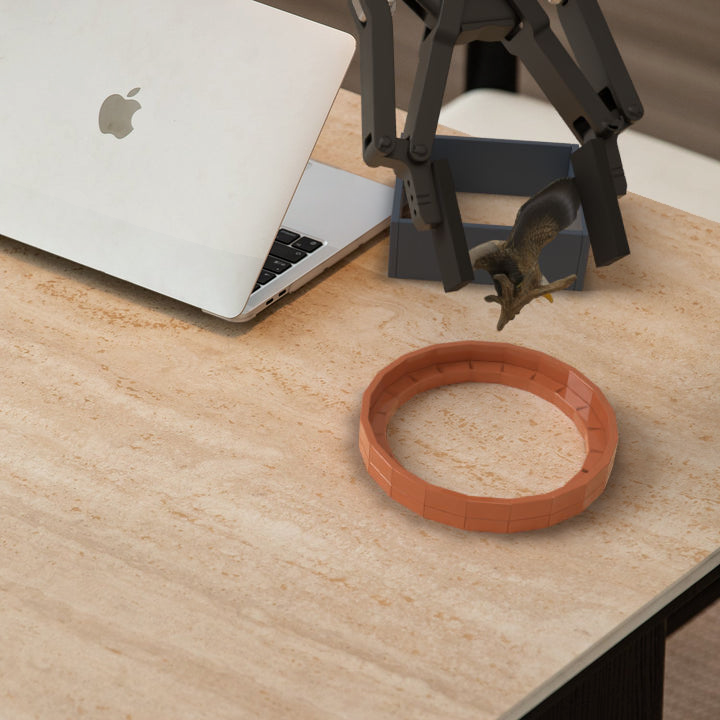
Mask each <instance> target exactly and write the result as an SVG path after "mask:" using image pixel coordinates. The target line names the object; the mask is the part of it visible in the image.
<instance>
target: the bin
mask: <svg viewBox="0 0 720 720" xmlns="http://www.w3.org/2000/svg"><path fill="white" fill-rule="evenodd" d="M402 136H403V132H400V137H399V138H402ZM578 148H580V143H570V142H555V141H542V140H541V141H539V140H525V139H509V138H495V137H477V136H464V135H449V134H448V135H447V134H436V135H435V139H434V144H433V149H432V154H431V156H430V160H431V163H432V162H433V161H434V160H441V159H448V162H449V166H450V171H451V175H452V180H453V184H454V188H455V193H465V194H466V193H469V194H482V195H494V196H495V195H497V196H511V197H524V198H525V197H526V198H531V197H532V196H533V195H534V194H536V193H538V192H539V191H541V190H542V189H544V188H545V187H546V186H547V185H549V184H550V183H552V182H553V181H554V180H556V179H559V178H564V177H566V178H567V177H571V178H572V177H575V176H574V172H573V168H572V163H571V159H570V155H571V154H572V153H573V152H575V151H576V150H577V149H578ZM394 181H395V183H394V188H393V189H394V190H393V197H392V207H391V216H390V226H389V227H390V228H389V242H388V243H389V244H388V245H389V246H388V262H387V263H388V264H387V278H388V279H400V280H414V281H415V280H416V281H430V282H442V278H441V273H440V269H439V264H438V260H437V255H436V251H435V246H434V242H433V237H432V233H431V230H424V231H418V230H417V229H416V227H415V225H414V224H413V221H412V218H403V211H404V202H405V201H404V200H405V193H406V190H405V185H404V181H403V179H400V178H398V177H397V176H396V175H395V180H394ZM462 224H463V228H464V233H465V237H466V242H467V246H468V251H469V250H470V249H472V248H474V247H476V246H478V245H481V244H483V243H487V242H489V241H493V240H499V241H507V240H508V238H509V236H510V234H511V231H512V229H513V226H514V225H503V224H490V223H477V222H474V223H473V222H462ZM590 248H591V243H590V239H589V235H588V231H587V227H586V222H585V218H584V214H583V210H582V206H581V205H580V208H579V210H578V211H577V217H576V219H575V221H574V222H573V223H572V224H571V225H570V226H569V227H567V228H566V229H565V230H563V231H560V232H559V233H558V234H557V236H556V237H555V239H554V240H552V241H551V242H549V243H547V244H546V245H545V246H544V247H543V248H542V249H541V251H540V254H539V256H540V258H538V264H539V270H540V272H541V273H542V274H543V276H544V277H545V278H546V280H547V281H548V282H549V283H550V284H551V283H553V282H555V281H557V280H560V279H564V278H566V277H568V276H571V275H573V274H575V275H577V279H576V280H575V281H574V282H573V283H572V284H571V285H570V286H568V287H567V288H565V289H563V290H562V291H572V292H574V291H575V292H583V290H584V283H585V278H586V272H587V266H588V259H589V253H590ZM473 273H474V277H475V280H474V281H472V282H471V283H469V285H470V284H473V285H486V286H494V282H493V280H492V278H491V276H490V274H489V273H488V272H487V271H486V270H484V269H478V270H476V271H473Z"/></svg>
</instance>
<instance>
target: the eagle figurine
mask: <svg viewBox="0 0 720 720" xmlns="http://www.w3.org/2000/svg"><path fill="white" fill-rule="evenodd" d="M580 205H581V201H580V197H579V193H578V189H577V184H576V180H575V177H572V178H571V177H567V178H566V177H564V178H559V179H556V180H554V181H553V182H552V183H550V184H549V185H547V186H546V187H545V188H544V189H542V190H541V191H539V192H538V193H536V194H534V195H533V196H532V197H529V199H528V200H526V201H525V202H524V203H523V204H522V205H521V206H520V208H519V209H518V210H517V213H516V216H515V219H514V224H513V225H512V226H513V229H512V231H511V234H510V236H509V238H508V240H507V241H499V240H493V241H489V242H487V243H483V244H481V245H478V246H476V247H474V248H472V249H470V250H469V255H470V259H471V264H472V268H473V271H476V270H478V269H484V270H486V271H487V272H488V273H489V274H490V276H491V278H492V280H493V282H494V285H493V286H494V290H495V292H496V295H495V294H489V295H485V296H484V297H483V300H484V301H485V302H486V303H489V304H491V303H496V304H498V305H500V313H499V319H498V320H497V323H496V327H495V329H496V331H497V332H502V330H503V329H504V328H505V327H506V325H507V324H509V322H510V321H513V320H515V318H516V316H517V315H520V314H521V310H523V308H524V307H525V306H526V305H528V304H530V303H531V302H532V301H533V300H534V299H538V298H539V297H542V298H544V299H546V300H547V301H548V302H549V303H550V304H553V303H554V298H553V295H552V294H553V293H556V292H559V291H564V290H563V289H565V288H567V287H568V286H570V285H571V284H572V283H573V282H574V281H575V280H576V279H577V275H575V274H573V275H571V276H568V277H566V278H564V279H560V280H557V281H555V282H553V283H551V284H550V283H549V282H548V281H547V280H546V278H545V277H544V276H543V274H542V273H541V272H540V270H539V264H538V258H540V256H539V254H540V251H541V249H542V248H543V247H544V246H545V245H546V244H547V243H549V242H551V241H552V240H554V239H555V237H556V236H557V234H558V233H559V232H560V231H563V230H567V227H569V226H570V225H571V224H572V223H573V222H574V221H575V219H576V217H577V211H578V210H579V208H580Z"/></svg>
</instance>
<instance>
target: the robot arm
mask: <svg viewBox="0 0 720 720" xmlns="http://www.w3.org/2000/svg"><path fill="white" fill-rule="evenodd" d="M547 1H548V3H549V4H550V5H555V7H556V13H557V16H558V20H559V23H560V25H561V28H562V31H563V33H564V35H565V37H566V40H567V42H568V44H569V47H570V49H571V52H572V54H573V56H574V59H575V60H576V62H575V60H574V59H573V58H572V56H571V55H570V54H569V51H567V49H566V48H565V46H564V45H563V43H562V42H561V41H560V39H559V38H558V36H557V35H556V34H555V32H554V31H553V29H552V27H551V20H550V17H549V14H547V12H546V11H545V9H544V8H543V7H542V5H541V3H540V2H539V1H538V0H400V2H401V3H402V4H403V5H404V6H405V7H407V8H408V9H409V10H410V11H411V13H412V14H414V15H415V16H416V17H417V18H418V20H419V21H421V22H422V23H423V24H424V25H423V29H422V35H421V39H420V44H419V49H418V54H417V57H418V62H417V66H416V67H417V68H416V71H415V75H414V81H413V85H412V89H411V94H410V100H409V104H408V109H407V113H406V118H405V121H404V127H403V132H402V133H403V136H402V138H400V137H398V135H397V107H396V106H397V105H396V103H397V102H396V78H395V77H396V76H395V75H396V73H395V47H394V46H395V43H394V21H393V16H394V14H395V12H396V10H397V8H398V3H397V0H347V7H348V10H349V12H350V15H351V17H352V20H353V23H354V25H355V27H356V30H357V33H358V40H359V42H358V43H359V44H358V45H359V75H360V77H359V78H360V80H359V81H360V110H361V111H360V112H361V113H360V115H361V150H362V154H361V155H362V161H363V162H364V164H365V165H366V166H367V167H368V168H372V169H376V168H379V167H382V168H388V169H391V170H392V171H393V174H394V176H395V177H396V176H397V177H398V178H400V179H403V181H404V185H405V195H406V198H407V202H408V208H409V212H410V217H411V219H412V221H413V224H414V225H415V227H416V229H417V230H418V231H424V230H431V233H432V237H433V242H434V246H435V251H436V255H437V260H438V264H439V269H440V273H441V278H442V281H441V283H442V287H443V290H444V293H445V294H448V293H455V292H459V291H460V290H462V289H463V288H464V287H466V286H468V285H470V283H471V282H472V281H474V280H475V277H474V273H473V268H472V264H471V259H470V255H469V251H468V246H467V242H466V237H465V233H464V228H463V224H462V223H463V220H462V216H461V215H462V214H461V211H460V207H459V203H458V197H457V192H455V188H454V184H453V180H452V175H451V171H450V166H449V162H448V159H441V160H434V161H433V162H432V163H431V160H430V156H431V154H432V149H433V144H434V139H435V135H437V129H438V124H439V121H440V115H441V110H442V105H443V101H444V97H445V96H444V95H445V92H446V87H447V86H446V85H447V82H448V77H449V72H450V68H451V63H452V59H453V53H454V48H455V47H457V46H464V45H466V44H468V43H471V42H474V41H482V42H489V43H492V42H501V43H502V45H503V46H504V48H505V49H506V50H507V52H509V54H510V55H512V56H516V57H517V58H518V59H519V61H520V62H521V63H522V65H523V66H524V67H525V69H526V70H527V71H528V73H529V74H530V76H531V77H532V79H533V80H534V82H535V83H536V84H537V86H538V87H539V88H540V90H541V91H542V93H543V94H544V95H545V97H546V98H547V100H548V101H549V103H550V104H551V106H552V107H553V108H554V110H555V111H556V112H557V114H558V115H559V117H560V118H561V119H562V121H563V122H564V124H565V125H566V126H567V128H568V129H569V131H570V132H571V134H572V135H573V136H574V138H575V139H576V140H577V142H578V144H579V148H578V149H577V150H576V151H575V152H573V153H572V154H571V155H570V159H571V163H572V168H573V172H574V176H575V180H576V184H577V189H578V193H579V197H580V201H581V206H582V210H583V214H584V218H585V222H586V227H587V231H588V235H589V239H590V248H591V252H592V256H593V260H594V264H595V268H596V269H597V268H603V267H608V266H611V265H612V264H614V263H616V262H618V261H620V260H622V259H624V258H626V257H628V256H629V255H631V249H630V245H629V241H628V237H627V233H626V229H625V225H624V220H623V216H622V212H621V208H620V204H619V200H620V199H621V198H623V197H624V196H626V195H627V191H628V182H627V178H626V173H625V170H624V166H623V161H622V157H621V152H620V149H619V145H618V138H619V136H620V135H621V134H623V133H624V132H626V131H627V130H628V129H630V127H632V126H633V125H635V124H636V123H637V122H639V121H640V120H642V119H643V117H644V116H645V115H644V114H645V109H644V108H645V107H644V105H643V103H642V101H641V99H640V97H639V94H638V92H637V90H636V89H637V88H636V87H635V85H634V82H633V80H632V78H631V76H630V73H629V71H628V68H627V67H626V64H625V62H624V59H623V57H622V55H621V53H620V50H619V48H618V45H617V44H616V41H615V38H614V37H613V34H612V32H611V30H610V27H609V25H608V22H607V19H606V18H605V16H604V14H603V11H602V9H601V6H600V4H599V2H598V0H547ZM521 23H522V27H521V26H520V24H521Z"/></svg>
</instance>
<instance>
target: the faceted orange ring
mask: <svg viewBox="0 0 720 720" xmlns="http://www.w3.org/2000/svg"><path fill="white" fill-rule="evenodd" d="M462 383H484V384H495V385H496V384H497V385H498V384H499V385H503V386H507V387H510V388H514V389H518V390H521V391H525V392H528V393H530V394H533V395H534V396H536V397H538V398H540V399H541V400H544V401H546V402H548V403H550V404H552V405H553V406H555V407H556V408H557V409H558V410H559V411H560V412H562V413H563V414H564V415H565V416H566V417H567V418H568V419H570V420H571V421H572V422H573V424H574V426H575V428H576V429H577V431H578V432H579V434H580V436H581V437H582V440H583V442H584V449H585V458H584V460H583V464H582V466H581V468H580V469H579V471H578V472H577V473H575V475H573V476H572V477H571V478H570V479H569V480H568V481H567V482H566V483H565V484H564V485H562V486H560V487H558V488H555V489H554V490H551V491H548V492H546V493H540V494H533V495H526V496H520V497H514V498H513V497H512V498H506V497H494V496H493V497H492V496H479V495H469V494H465V493H461V492H459V491H455V490H452V489H449V488H445V487H442V486H438V485H434V484H433V483H429V482H427V481H426V480H424V479H423V478H422V477H419V476H418V475H416V474H414V473H412V472H410V471H409V470H408V469H406V468H405V466H403V464H402V463H401V462H400V461H399V460H398V459H397V458H396V457H395V456H394V453H393V451H392V449H391V446H390V443H389V441H388V438H387V429H388V428H387V427H388V425H389V424H390V422H391V420H392V418H393V417H394V416H395V413H396V412H397V410H398V409H399V408H400V407H402V406H403V405H404V404H406V403H407V402H408V401H410V400H411V399H413V397H415V396H418V395H419V394H421V393H424V392H427V391H430V390H433V389H435V388H438V387H441V386H446V385H454V384H462ZM619 439H620V437H619V429H618V424H617V415H616V411H615V410H614V408H613V407H612V405H611V403H610V402H609V400H608V399H607V397H606V395H605V393H603V391H602V389H601V388H600V387H599V386H598V385H597V384H595V383H594V382H593V381H592V380H590V378H588V377H587V376H586V375H584V374H583V373H582V372H581V371H580V370H579V369H577V368H576V367H574V366H572V365H571V364H568V363H566V362H565V361H562V360H560V359H558V358H556V357H554V356H552V355H550V354H548V353H547V352H544V351H541V350H537V349H533V348H529V347H525V346H521V345H517V344H514V343H509V342H504V341H503V342H502V341H489V340H488V341H487V340H475V339H474V340H473V339H470V340H469V339H468V340H467V339H466V340H458V341H449V342H442V343H441V342H440V343H434V344H430V345H428V346H424V347H422V348H419V349H416V350H413V351H409V352H406V353H404V354H402V355H400V356H399V357H397V358H396V359H395V360H393V361H392V362H390V363H389V364H387V365H385V366H384V367H383V368H382V369H380V370H378V371H377V372H376V374H375V375H374V376H373V379H372V380H371V381H370V383H369V384H368V386H367V387H366V389H365V390H364V392H363V393H362V398H361V408H360V415H359V433H358V449H359V451H360V454H361V457H362V460H363V462H364V465H365V468H366V470H367V473H368V475H369V476H370V477H371V478H372V479H373V480H374V482H375V483H376V484H377V485H378V486H379V487H380V488H381V489H382V490H383V491H384V493H385V494H386V495H387V496H388V497H389V498H390V499H391V500H393V501H395V502H397V503H399V504H400V505H401V506H403V507H405V508H406V509H408V510H409V511H412V512H413V513H414V514H416V515H419V516H420V517H421V518H424V519H427V520H430V521H433V522H437V523H440V524H443V525H446V526H449V527H453V528H455V529H459V530H463V531H469V532H484V533H495V534H496V533H497V534H515V533H521V532H526V531H528V532H529V531H533V530H540V529H547V528H550V527H552V526H554V525H557V524H559V523H561V522H564V521H566V520H569V519H570V518H573V517H575V516H577V515H579V514H582V513H583V512H584V511H585V510H586V509H587V508H588V507H589V506H590V505H591V504H592V503H593V502H595V500H596V499H598V498H599V497H600V496H601V495H602V494H603V493H604V491H605V489H606V486H607V484H608V481H609V478H610V475H611V473H612V470H613V468H614V464H615V459H616V454H617V449H618V444H619Z"/></svg>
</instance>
